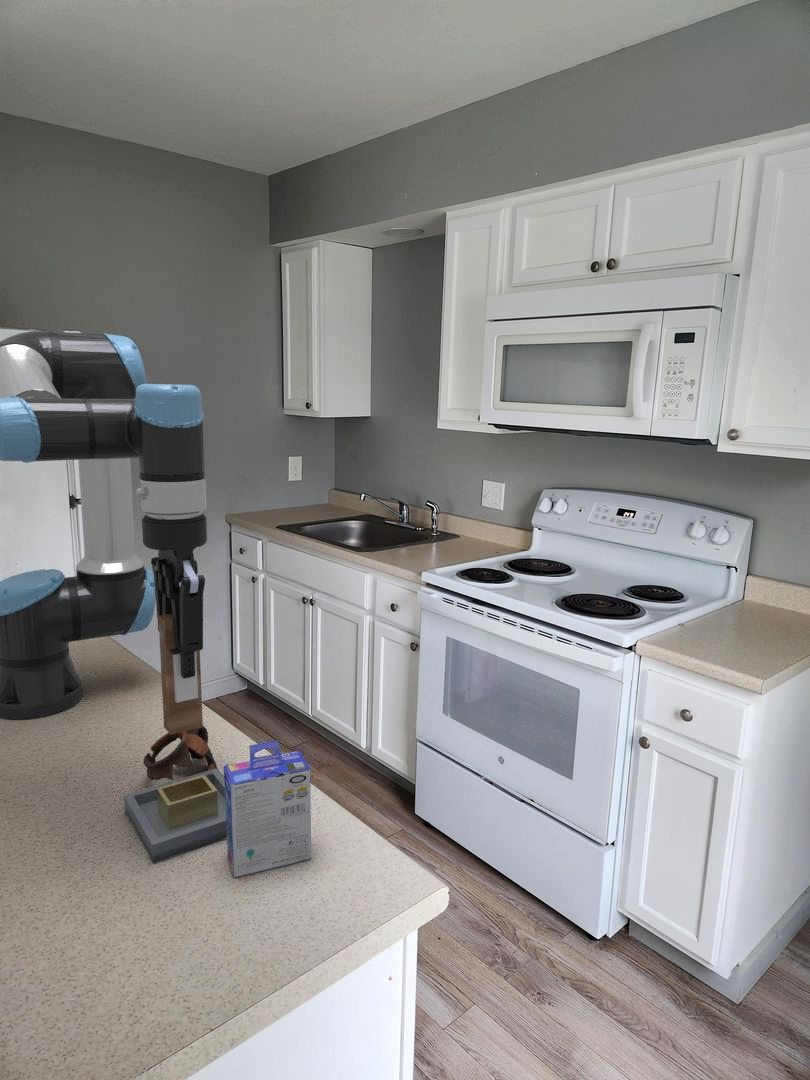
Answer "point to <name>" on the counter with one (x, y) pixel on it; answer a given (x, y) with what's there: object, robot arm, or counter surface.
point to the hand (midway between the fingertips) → (182, 694)
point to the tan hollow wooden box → (187, 802)
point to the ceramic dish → (183, 838)
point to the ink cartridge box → (267, 810)
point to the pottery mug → (179, 753)
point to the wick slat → (174, 713)
